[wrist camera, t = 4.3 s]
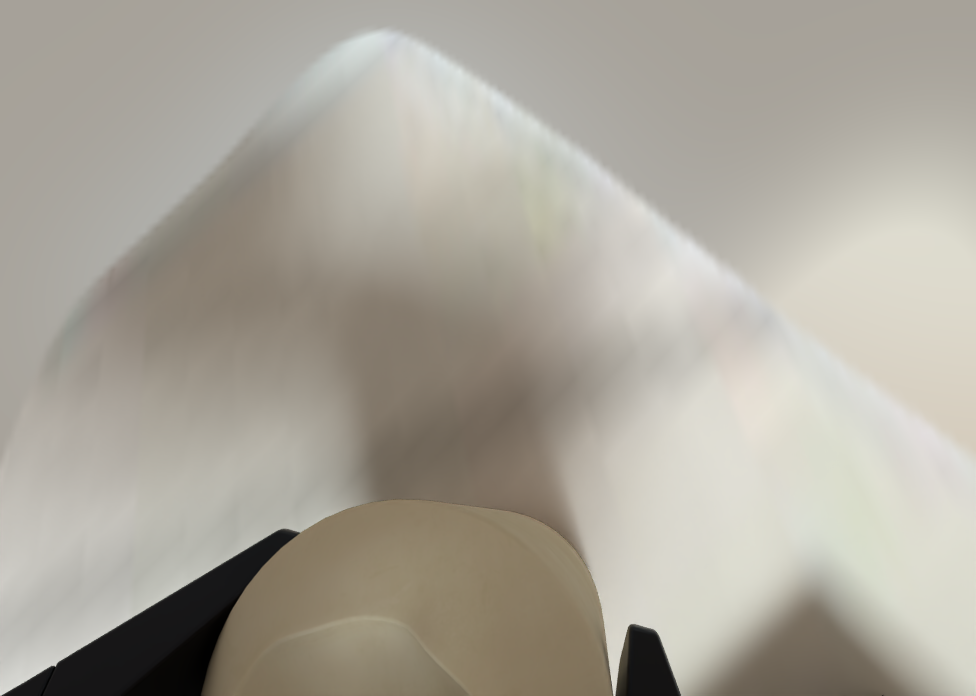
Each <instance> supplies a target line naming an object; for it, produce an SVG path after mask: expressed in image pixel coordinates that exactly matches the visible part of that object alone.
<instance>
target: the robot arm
mask: <svg viewBox="0 0 976 696" xmlns="http://www.w3.org/2000/svg"><path fill="white" fill-rule="evenodd" d="M299 534H300V532H296V531H293V530H289V529H281V530H278V531H276V532H274V533H273V534H271V535H269V536H268V537H266V538H264V539H263V540H261V541H259V542H258V543H256V544H254V545H253V546H251V547H249V548H248V549H246V550H244V551H243V552H241V553H239V554H238V555H236V556H234V557H233V558H231V559H229V560H228V561H226V562H224V563H223V564H221V565H219V566H218V567H216V568H214V569H213V570H211V571H209V572H208V573H206V574H204V575H203V576H201V577H199V578H198V579H196V580H194V581H193V582H191V583H189V584H188V585H186V586H184V587H183V588H181V589H179V590H178V591H176V592H174V593H173V594H171V595H169V596H168V597H166V598H164V599H163V600H161V601H159V602H158V603H156V604H154V605H153V606H151V607H149V608H148V609H146V610H144V611H143V612H141V613H139V614H138V615H136V616H134V617H133V618H131V619H129V620H128V621H126V622H124V623H123V624H121V625H119V626H118V627H116V628H114V629H113V630H111V631H109V632H108V633H106V634H104V635H103V636H101V637H99V638H98V639H96V640H94V641H93V642H91V643H89V644H88V645H86V646H84V647H83V648H81V649H79V650H78V651H76V652H74V653H73V654H71V655H69V656H68V657H66V658H64V659H63V660H61V661H59V662H58V663H57V665H56V667H55V666H51V667H49V668H47V669H46V670H44V671H42V672H41V673H39V674H37V675H36V676H34V677H32V678H31V679H29V680H27V681H26V682H24V683H22V684H21V685H19V686H17V687H16V688H14V689H12V690H10V691H9V692H7V693H5V694H3V695H2V696H201V692H202V688H203V684H204V680H205V676H206V672H207V668H208V664H209V662H210V659H211V656H212V653H213V651H214V648H215V645H216V642H217V640H218V637H219V635H220V633H221V631H222V629H223V627H224V625H225V623H226V621H227V619H228V617H229V614H230V612H231V611H232V609H233V607H234V606H235V604H236V603H237V601H238V599H239V598H240V596H241V595H242V593H243V591H244V590H245V588H246V587H247V586H248V584H249V583H250V582H251V581H252V579H253V578H254V577H255V576H256V574H257V573H258V572H259V571H260V569H261V568H262V567H263V566H264V565H265V564H266V563H267V562H268V561H269V560H270V559H271V558H272V557H273V556H274V555H275V554H276V553H277V552H278V551H279V550H280V549H281V548H282V547H283V546H284V545H286V544H287V543H288V542H290V541H291V540H292V539H293V538H295V537H296V536H297V535H299ZM616 696H681V694H680V691H679V688H678V686H677V683H676V680H675V678H674V675H673V672H672V669H671V667H670V664H669V661H668V659H667V656H666V653H665V650H664V648H663V645H662V642H661V640H660V637H659V635H658V633H657V632H656V631H655V630H653V629H650V628H647V627H643V626H639V625H636V624H631V625H630V626H629V627H628V630H627V634H626V638H625V642H624V646H623V650H622V654H621V658H620V664H619V671H618V680H617V688H616Z"/></svg>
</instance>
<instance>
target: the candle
mask: <svg viewBox="0 0 976 696" xmlns="http://www.w3.org/2000/svg"><path fill="white" fill-rule="evenodd" d="M201 696H613V691H612V683H611V675H610V667H609V660H608V652H607V644H606V636H605V629H604V621H603V615H602V609H601V604H600V600H599V597H598V593H597V590H596V586H595V584H594V582H593V579H592V577H591V575H590V572H589V571H588V569H587V567H586V565H585V564H584V562H583V560H582V559H581V557H580V556H579V555H578V553H577V552H576V551H575V549H574V548H573V547H572V546H571V545H570V544H569V543H568V542H567V541H566V540H565V539H564V538H563V537H562V536H561V535H560V534H558V533H557V532H556V531H555V530H553V529H552V528H550V527H549V526H547V525H545V524H544V523H542V522H540V521H538V520H536V519H534V518H531V517H529V516H526V515H522V514H519V513H515V512H511V511H505V510H498V509H490V508H482V507H474V506H467V505H459V504H451V503H444V502H436V501H428V500H414V499H393V500H386V501H378V502H370V503H367V504H363V505H360V506H356V507H352V508H349V509H346V510H343V511H341V512H339V513H336V514H334V515H332V516H329V517H327V518H325V519H323V520H321V521H319V522H318V523H316V524H314V525H313V526H311V527H309V528H308V529H306V530H304V531H302V532H301V533H300V534H299V535H297V536H296V537H295V538H293V539H292V540H291V541H290V542H288V543H287V544H286V545H284V546H283V547H282V548H281V549H280V550H279V551H278V552H277V553H276V554H275V555H274V556H273V557H272V558H271V559H270V560H269V561H268V562H267V563H266V564H265V565H264V566H263V567H262V568H261V569H260V571H259V572H258V573H257V574H256V576H255V577H254V578H253V579H252V581H251V582H250V583H249V584H248V586H247V587H246V588H245V590H244V591H243V593H242V595H241V596H240V598H239V599H238V601H237V603H236V604H235V606H234V607H233V609H232V611H231V612H230V614H229V617H228V619H227V621H226V623H225V625H224V627H223V629H222V631H221V633H220V635H219V637H218V640H217V642H216V645H215V648H214V651H213V653H212V656H211V659H210V662H209V664H208V668H207V672H206V676H205V680H204V684H203V688H202V692H201Z"/></svg>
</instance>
